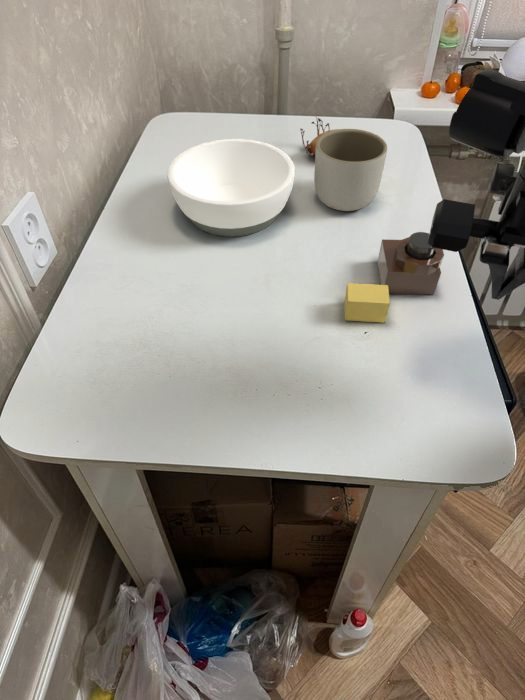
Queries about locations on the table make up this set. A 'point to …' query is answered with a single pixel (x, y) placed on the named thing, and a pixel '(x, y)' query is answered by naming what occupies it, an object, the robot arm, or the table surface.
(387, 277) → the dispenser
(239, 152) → the bowl
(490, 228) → the robot arm
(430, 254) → the dark grey short cylinder
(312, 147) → the vegetable
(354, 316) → the yellow block
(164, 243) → the table surface
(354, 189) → the planter
